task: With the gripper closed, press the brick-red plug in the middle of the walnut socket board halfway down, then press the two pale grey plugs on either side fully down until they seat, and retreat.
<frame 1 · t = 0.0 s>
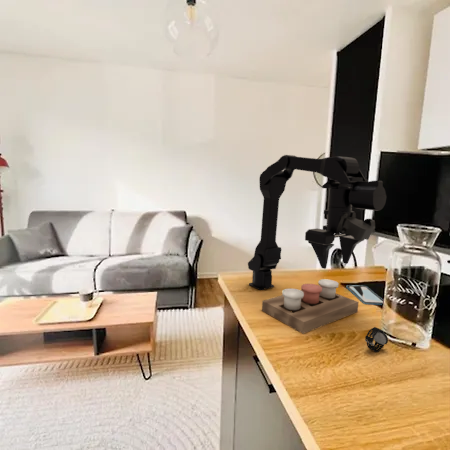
hand: (334, 265, 79), 15 cm above the kitchen counter, fingers open, 9 cm apart
smartwatch: (372, 350, 66), on the kitchen counter
smartphone: (364, 297, 98), on the kitchen counter
grey plug near: (292, 299, 80), point 5 cm above the kitchen counter, slide at 0.0 cm
red plug: (311, 293, 84), point 5 cm above the kitchen counter, slide at 0.0 cm
socket board: (309, 311, 85), on the kitchen counter
grey plug far: (327, 288, 88), point 5 cm above the kitchen counter, slide at 0.0 cm
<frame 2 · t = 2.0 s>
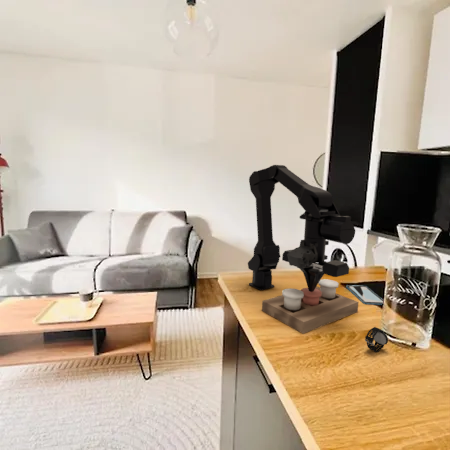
hand: (311, 291, 84), 6 cm above the kitchen counter, fingers closed, pressing on red plug
red plug: (310, 298, 84), point 4 cm above the kitchen counter, slide at -1.3 cm, touching gripper
everything else where it was.
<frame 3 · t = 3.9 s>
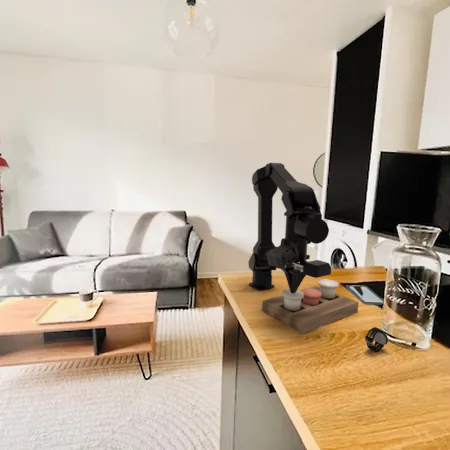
hand: (292, 292, 80), 7 cm above the kitchen counter, fingers closed, pressing on grey plug near
grey plug near: (292, 299, 80), point 5 cm above the kitchen counter, slide at -0.2 cm, touching gripper
red plug: (310, 298, 84), point 4 cm above the kitchen counter, slide at -1.4 cm
everything else where it was.
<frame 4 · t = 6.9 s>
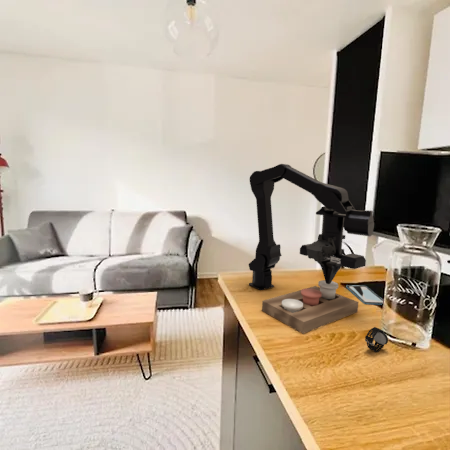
hand: (328, 283, 88), 7 cm above the kitchen counter, fingers closed, pressing on grey plug far
grey plug near: (291, 309, 80), point 2 cm above the kitchen counter, slide at -3.0 cm
grey plug far: (327, 289, 88), point 5 cm above the kitchen counter, slide at -0.3 cm, touching gripper
everything else where it was.
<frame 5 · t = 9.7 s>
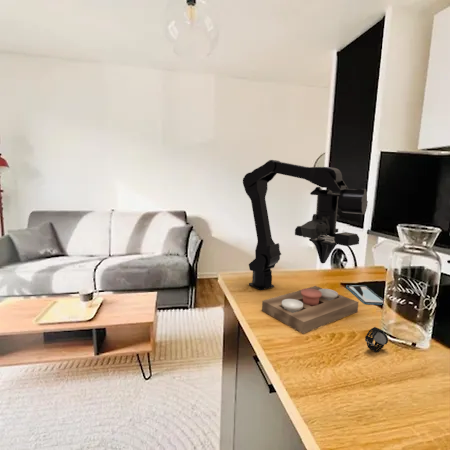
hand: (322, 263, 89), 12 cm above the kitchen counter, fingers closed
grey plug far: (327, 298, 89), point 2 cm above the kitchen counter, slide at -3.0 cm
everything else where it was.
at the end: red plug slide at -1.4 cm; grey plug near slide at -3.0 cm; grey plug far slide at -3.0 cm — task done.
